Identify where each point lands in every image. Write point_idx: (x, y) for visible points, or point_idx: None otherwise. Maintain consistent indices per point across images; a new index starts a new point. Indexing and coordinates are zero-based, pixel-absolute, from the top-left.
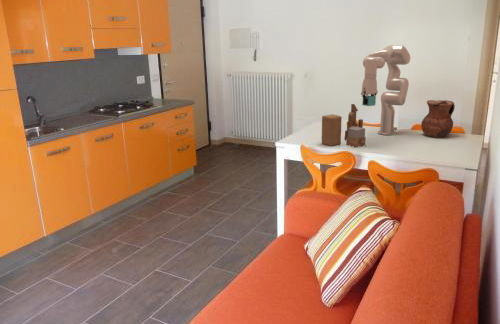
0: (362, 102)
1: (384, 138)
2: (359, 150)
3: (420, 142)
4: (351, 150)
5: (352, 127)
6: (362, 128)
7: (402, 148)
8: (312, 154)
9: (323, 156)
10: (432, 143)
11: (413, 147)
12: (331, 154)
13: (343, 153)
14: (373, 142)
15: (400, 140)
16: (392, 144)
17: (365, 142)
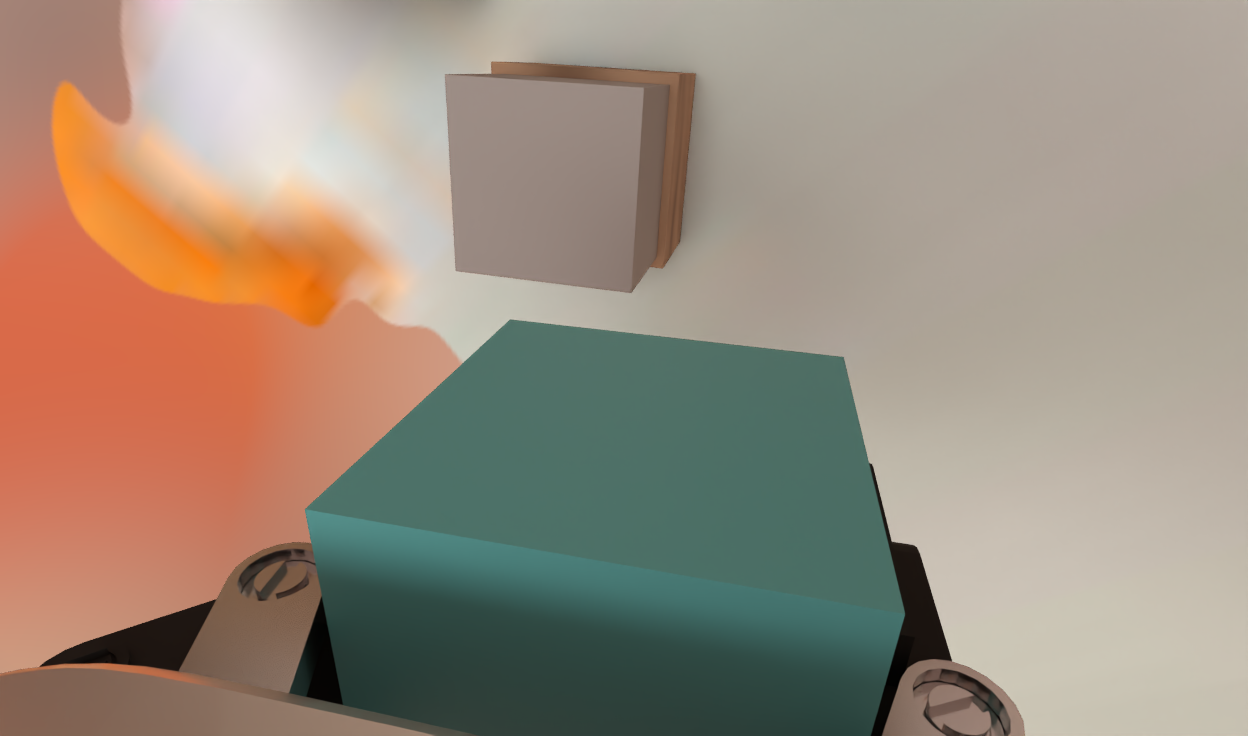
0: (470, 358)
1: (1192, 194)
2: (485, 320)
3: (1220, 594)
4: (425, 266)
5: (536, 88)
6: (602, 260)
7: None
8: (56, 98)
9: (119, 218)
10: (1244, 685)
11: (946, 611)
12: (203, 224)
13: (307, 279)
14: (867, 225)
15: (1193, 404)
16: (926, 427)
17: (673, 250)
